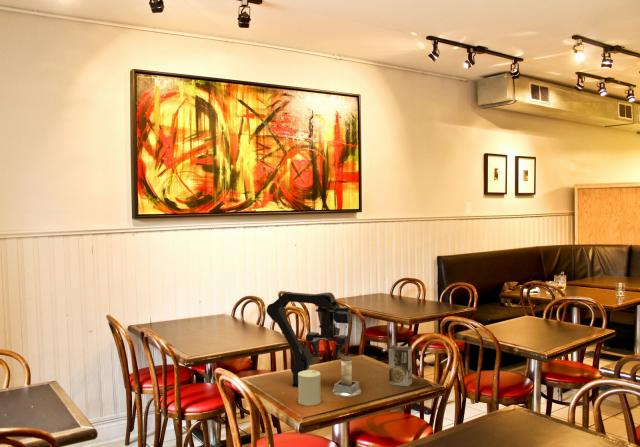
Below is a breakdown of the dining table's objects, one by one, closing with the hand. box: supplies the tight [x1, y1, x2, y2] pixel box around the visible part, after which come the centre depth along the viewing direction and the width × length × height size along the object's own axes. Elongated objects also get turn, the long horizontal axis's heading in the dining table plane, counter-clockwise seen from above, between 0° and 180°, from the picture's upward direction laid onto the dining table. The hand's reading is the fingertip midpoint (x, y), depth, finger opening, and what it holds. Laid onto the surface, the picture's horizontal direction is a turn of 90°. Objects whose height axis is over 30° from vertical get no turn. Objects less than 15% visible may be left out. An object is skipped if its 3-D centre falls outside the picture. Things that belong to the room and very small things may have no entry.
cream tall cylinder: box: [340, 355, 353, 386], centre depth 232 cm, size 4×4×14 cm
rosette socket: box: [332, 379, 362, 398], centre depth 232 cm, size 12×12×4 cm
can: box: [297, 369, 322, 407], centre depth 220 cm, size 9×9×12 cm
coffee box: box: [388, 345, 413, 388], centre depth 242 cm, size 9×6×16 cm
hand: (327, 358), depth 237 cm, fingers open, 9 cm apart
